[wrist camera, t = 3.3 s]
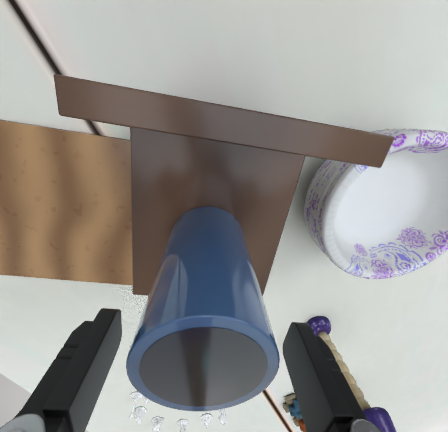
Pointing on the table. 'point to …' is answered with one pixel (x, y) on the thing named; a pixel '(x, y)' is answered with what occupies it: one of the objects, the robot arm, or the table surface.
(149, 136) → the shelf
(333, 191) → the paper bowls
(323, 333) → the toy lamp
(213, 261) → the cup
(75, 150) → the placemat
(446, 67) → the table surface
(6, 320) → the table surface
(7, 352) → the table surface
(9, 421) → the robot arm
